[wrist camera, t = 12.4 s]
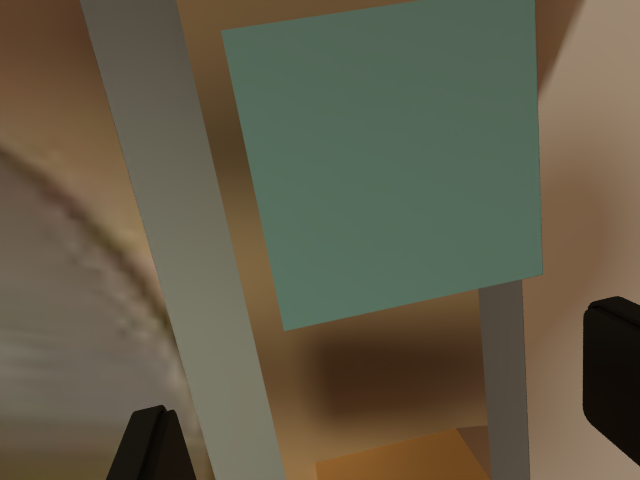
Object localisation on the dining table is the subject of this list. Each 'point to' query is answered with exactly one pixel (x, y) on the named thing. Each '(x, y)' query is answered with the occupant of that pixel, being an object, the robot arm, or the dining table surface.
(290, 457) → the brown wooden block
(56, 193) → the dining table surface
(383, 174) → the teal cube
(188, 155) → the dock
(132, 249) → the dining table surface
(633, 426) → the robot arm
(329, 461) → the orange cube
